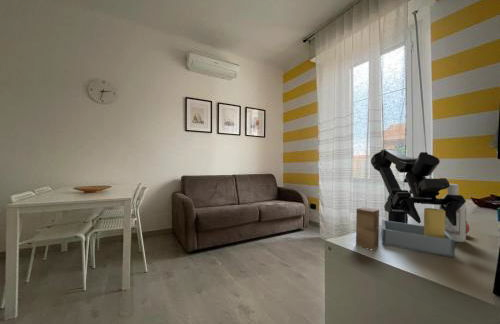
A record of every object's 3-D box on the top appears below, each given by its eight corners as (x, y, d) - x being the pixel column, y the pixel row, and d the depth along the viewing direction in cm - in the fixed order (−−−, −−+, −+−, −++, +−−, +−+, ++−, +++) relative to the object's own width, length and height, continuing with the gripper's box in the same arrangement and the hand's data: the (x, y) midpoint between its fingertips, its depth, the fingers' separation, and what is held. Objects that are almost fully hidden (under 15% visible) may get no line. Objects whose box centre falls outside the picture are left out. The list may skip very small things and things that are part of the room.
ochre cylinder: (435, 251, 63) (435, 211, 63) (419, 244, 68) (420, 208, 68) (449, 250, 64) (449, 211, 64) (432, 244, 68) (433, 208, 68)
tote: (382, 244, 69) (382, 229, 69) (381, 232, 81) (382, 220, 81) (454, 257, 60) (454, 240, 60) (442, 242, 72) (442, 228, 72)
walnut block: (362, 241, 71) (362, 206, 71) (378, 246, 68) (379, 209, 68) (355, 245, 68) (356, 208, 68) (372, 250, 64) (373, 211, 64)
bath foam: (450, 235, 79) (451, 183, 79) (471, 242, 72) (472, 185, 72) (433, 235, 79) (434, 183, 78) (453, 242, 72) (454, 185, 72)
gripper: (396, 168, 72) (411, 207, 61) (462, 170, 67) (491, 212, 56) (387, 188, 79) (399, 225, 69) (445, 191, 75) (468, 231, 64)
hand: (437, 223), depth 64 cm, fingers open, 9 cm apart
